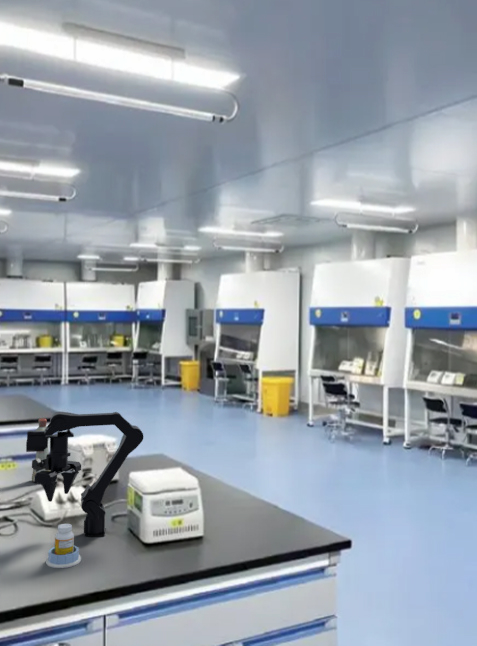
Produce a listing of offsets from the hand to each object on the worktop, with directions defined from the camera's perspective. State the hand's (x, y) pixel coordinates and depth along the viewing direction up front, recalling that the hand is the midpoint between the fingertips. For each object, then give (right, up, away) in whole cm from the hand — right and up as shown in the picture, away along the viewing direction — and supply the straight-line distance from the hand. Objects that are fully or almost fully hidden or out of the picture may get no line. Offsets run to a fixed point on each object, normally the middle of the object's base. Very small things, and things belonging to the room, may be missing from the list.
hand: (58, 497), depth 203 cm
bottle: (-27, -12, +67) cm, 73 cm away
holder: (+8, -13, -20) cm, 25 cm away
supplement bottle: (+8, -13, -20) cm, 25 cm away
